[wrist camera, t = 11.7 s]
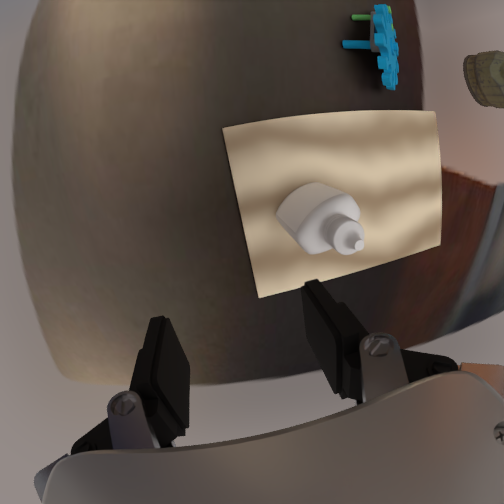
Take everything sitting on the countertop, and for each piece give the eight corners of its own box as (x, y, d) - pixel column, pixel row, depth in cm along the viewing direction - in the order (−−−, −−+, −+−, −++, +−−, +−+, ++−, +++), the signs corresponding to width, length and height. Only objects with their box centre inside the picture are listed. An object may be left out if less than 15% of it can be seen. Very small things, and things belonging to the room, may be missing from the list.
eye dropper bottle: (270, 188, 26) (314, 219, 15) (324, 179, 27) (395, 204, 16) (276, 231, 28) (320, 287, 17) (328, 220, 28) (394, 266, 17)
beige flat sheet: (222, 128, 24) (222, 128, 24) (431, 111, 26) (435, 111, 25) (257, 294, 31) (259, 298, 30) (436, 242, 33) (440, 244, 32)
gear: (401, 106, 24) (388, 56, 16) (352, 100, 27) (321, 54, 19) (403, 35, 22) (386, -19, 14) (359, 32, 25) (331, -18, 17)
